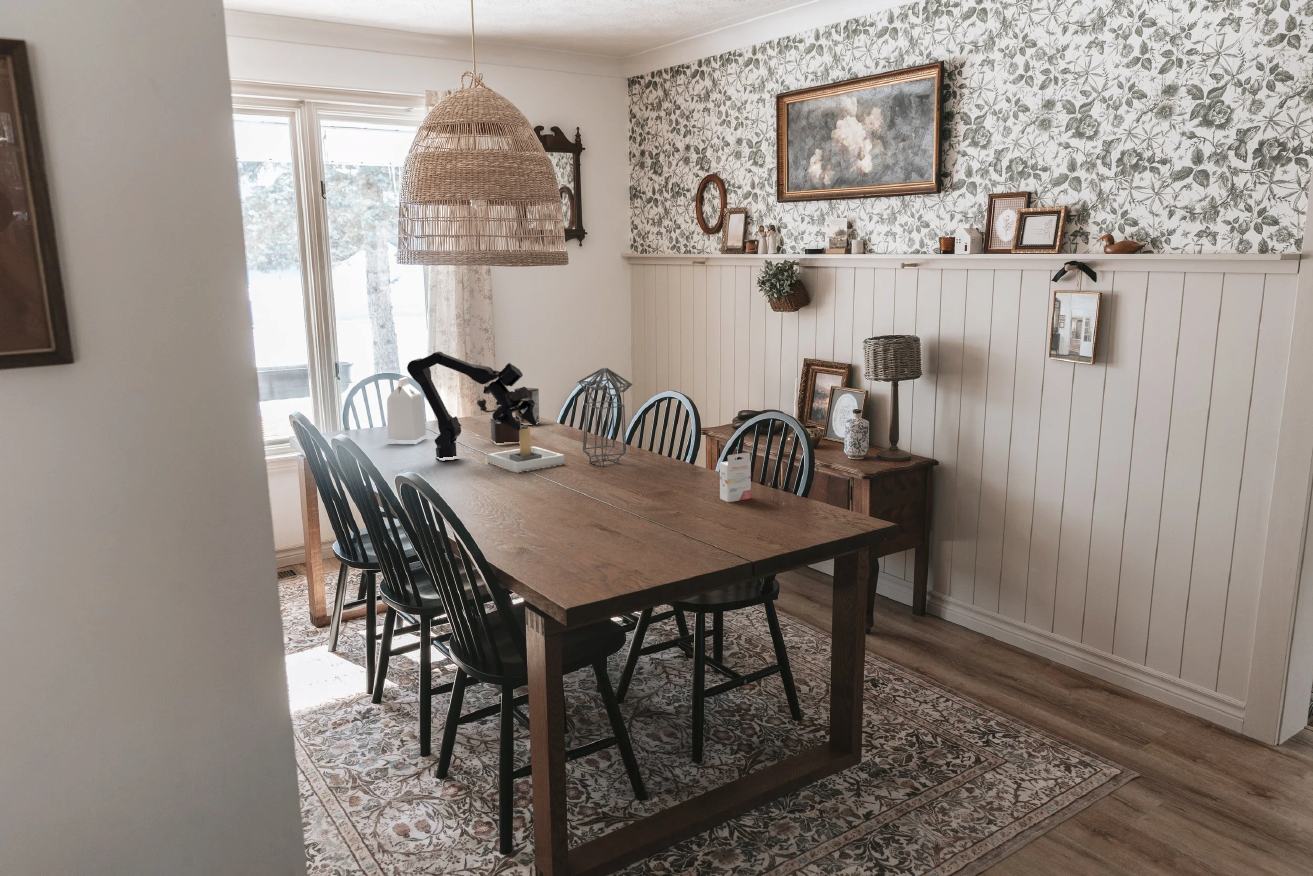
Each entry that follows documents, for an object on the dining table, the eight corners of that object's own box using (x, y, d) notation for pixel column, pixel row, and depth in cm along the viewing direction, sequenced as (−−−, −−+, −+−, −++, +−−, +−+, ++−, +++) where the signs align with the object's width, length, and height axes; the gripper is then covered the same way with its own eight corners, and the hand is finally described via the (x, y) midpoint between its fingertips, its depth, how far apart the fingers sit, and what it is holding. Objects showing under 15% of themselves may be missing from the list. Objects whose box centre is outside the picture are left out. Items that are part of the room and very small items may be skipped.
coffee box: (515, 424, 404) (513, 389, 401) (522, 422, 410) (521, 387, 407) (533, 426, 401) (531, 390, 397) (540, 423, 406) (538, 387, 403)
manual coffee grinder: (515, 438, 374) (513, 395, 370) (522, 443, 364) (520, 399, 360) (477, 442, 368) (475, 398, 364) (483, 447, 358) (481, 402, 354)
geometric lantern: (611, 456, 340) (612, 363, 332) (634, 465, 327) (635, 369, 319) (574, 461, 331) (574, 366, 324) (595, 471, 318) (596, 372, 311)
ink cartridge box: (742, 495, 285) (742, 449, 282) (751, 499, 280) (751, 452, 277) (719, 498, 281) (719, 452, 278) (727, 502, 276) (727, 455, 273)
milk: (400, 438, 377) (395, 376, 372) (426, 438, 376) (422, 376, 370) (387, 444, 366) (383, 380, 360) (415, 444, 364) (410, 380, 359)
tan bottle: (524, 459, 332) (523, 425, 329) (533, 460, 330) (532, 426, 327) (518, 461, 328) (516, 427, 326) (527, 462, 326) (525, 428, 324)
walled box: (534, 455, 343) (534, 446, 342) (564, 464, 328) (564, 454, 327) (487, 463, 330) (487, 454, 330) (516, 473, 315) (516, 463, 315)
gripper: (497, 383, 317) (523, 417, 314) (530, 377, 333) (555, 409, 330) (480, 404, 323) (506, 437, 319) (514, 396, 338) (539, 428, 335)
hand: (527, 427), depth 326 cm, fingers open, 9 cm apart
